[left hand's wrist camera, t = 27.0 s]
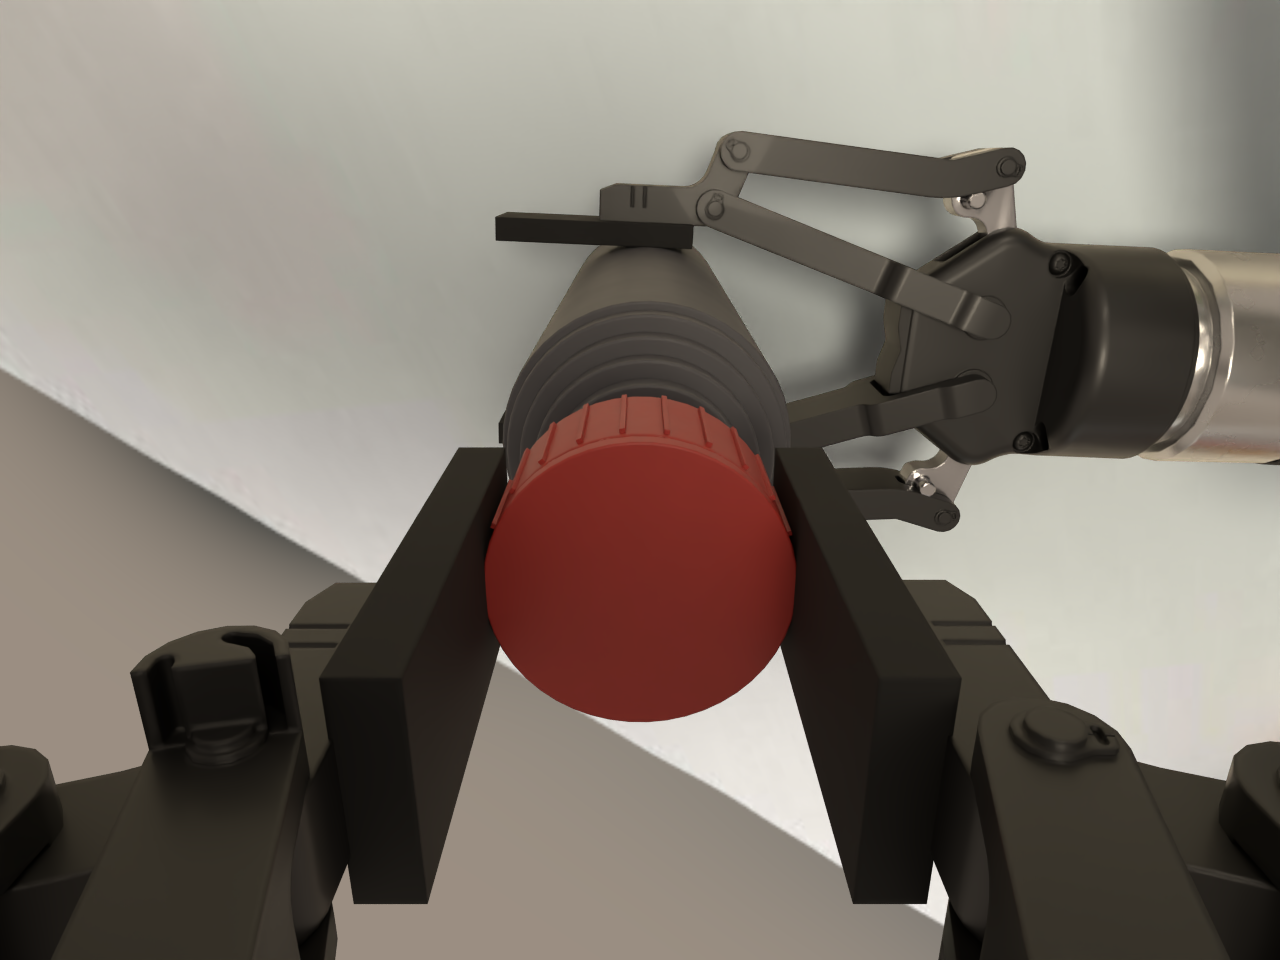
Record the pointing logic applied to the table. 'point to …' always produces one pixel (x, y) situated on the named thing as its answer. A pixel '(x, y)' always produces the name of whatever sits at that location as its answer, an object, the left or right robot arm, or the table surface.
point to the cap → (640, 562)
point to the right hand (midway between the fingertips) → (504, 328)
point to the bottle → (647, 351)
